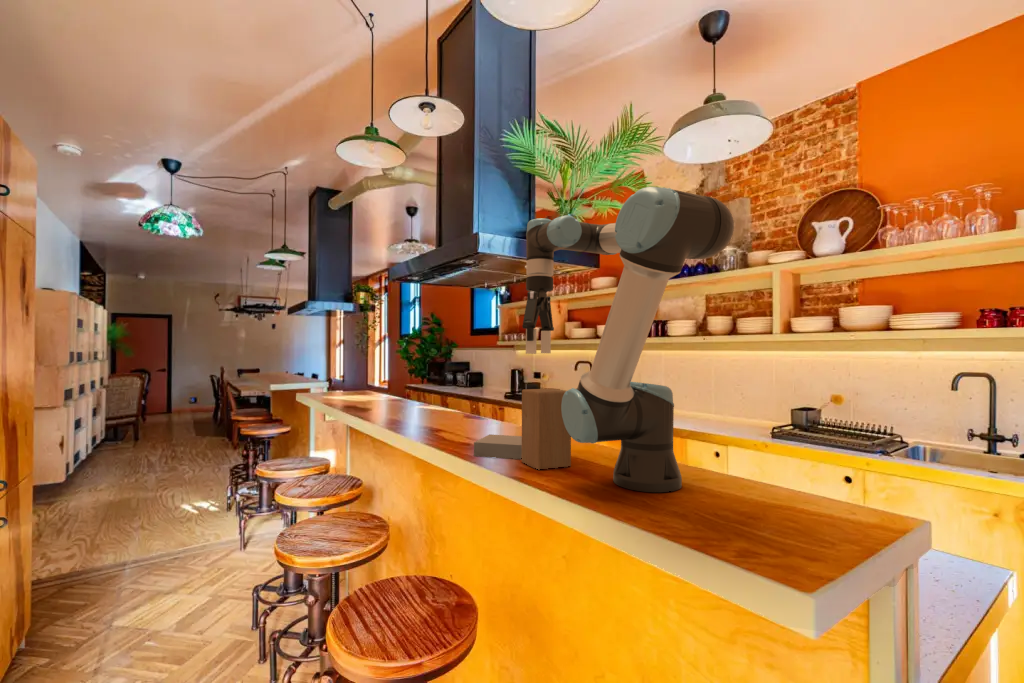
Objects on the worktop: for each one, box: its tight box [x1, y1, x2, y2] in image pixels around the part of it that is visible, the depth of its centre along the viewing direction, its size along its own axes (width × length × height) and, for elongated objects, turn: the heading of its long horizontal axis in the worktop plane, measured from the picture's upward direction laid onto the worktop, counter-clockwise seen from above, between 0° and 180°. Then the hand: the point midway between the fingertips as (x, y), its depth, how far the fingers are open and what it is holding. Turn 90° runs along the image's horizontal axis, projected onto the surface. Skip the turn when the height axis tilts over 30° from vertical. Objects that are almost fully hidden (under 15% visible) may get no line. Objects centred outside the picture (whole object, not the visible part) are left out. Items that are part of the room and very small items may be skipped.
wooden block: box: [521, 388, 572, 471], centre depth 125 cm, size 10×10×20 cm
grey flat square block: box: [473, 434, 522, 460], centre depth 140 cm, size 14×14×4 cm
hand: (538, 353), depth 129 cm, fingers open, 13 cm apart
